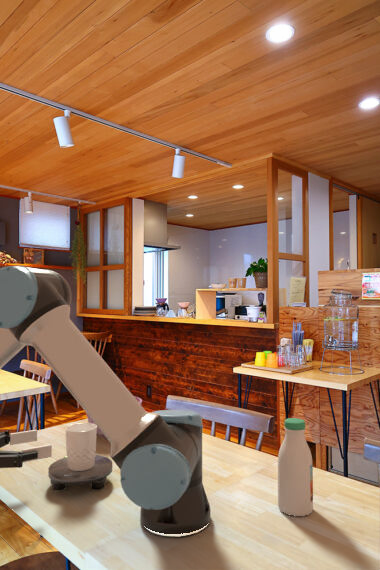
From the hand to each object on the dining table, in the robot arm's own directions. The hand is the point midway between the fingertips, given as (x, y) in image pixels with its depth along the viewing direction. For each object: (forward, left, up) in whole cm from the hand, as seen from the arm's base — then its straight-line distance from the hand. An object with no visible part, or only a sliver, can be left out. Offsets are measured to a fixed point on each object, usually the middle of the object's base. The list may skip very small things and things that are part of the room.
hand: (43, 442), depth 108 cm
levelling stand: (0, -10, -12) cm, 15 cm away
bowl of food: (+33, -33, -12) cm, 48 cm away
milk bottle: (-40, -46, -12) cm, 62 cm away
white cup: (-1, -9, -8) cm, 12 cm away
